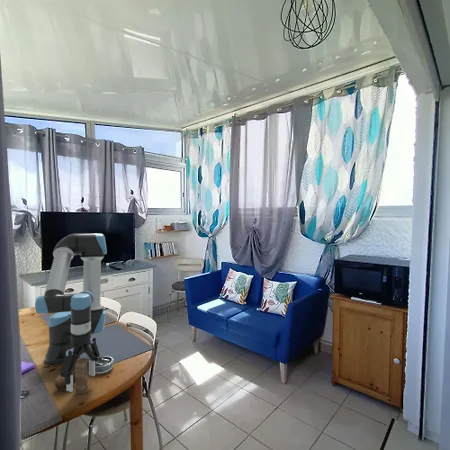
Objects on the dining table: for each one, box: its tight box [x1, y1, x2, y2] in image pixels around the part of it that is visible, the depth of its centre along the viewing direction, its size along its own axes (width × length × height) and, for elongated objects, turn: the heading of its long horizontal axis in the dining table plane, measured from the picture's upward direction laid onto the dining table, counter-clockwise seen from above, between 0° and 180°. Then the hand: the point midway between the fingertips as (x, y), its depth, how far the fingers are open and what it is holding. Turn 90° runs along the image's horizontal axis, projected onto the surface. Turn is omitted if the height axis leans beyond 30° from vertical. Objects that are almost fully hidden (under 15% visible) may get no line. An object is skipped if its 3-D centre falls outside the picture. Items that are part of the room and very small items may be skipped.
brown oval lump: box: [54, 371, 75, 391], centre depth 121 cm, size 8×8×6 cm
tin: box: [95, 355, 115, 375], centre depth 135 cm, size 10×10×4 cm
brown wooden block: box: [74, 357, 88, 395], centre depth 117 cm, size 2×4×14 cm, turn 71°
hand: (81, 382), depth 117 cm, fingers open, 11 cm apart
